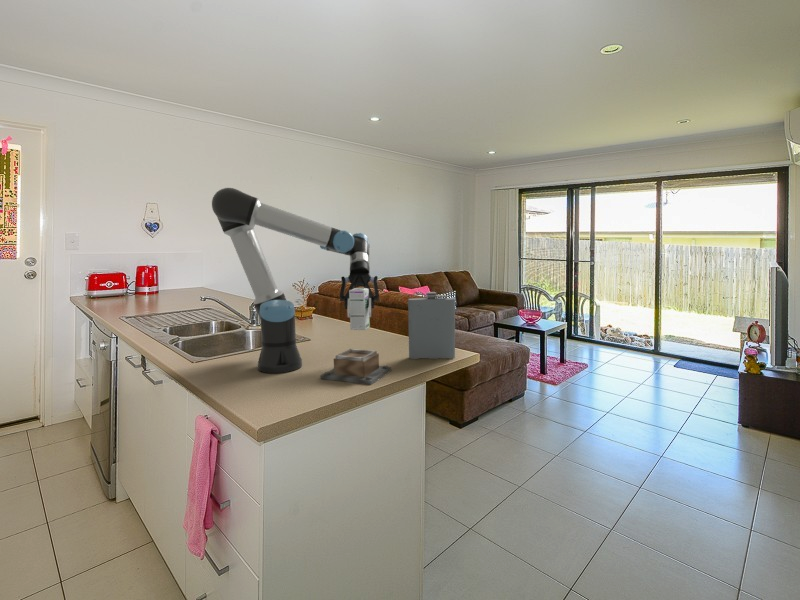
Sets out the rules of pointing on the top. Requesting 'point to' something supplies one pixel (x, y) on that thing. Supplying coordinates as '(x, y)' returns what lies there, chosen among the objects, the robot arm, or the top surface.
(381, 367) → the assembly base
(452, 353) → the tall gray carton
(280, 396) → the top surface
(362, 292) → the syrup box
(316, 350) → the top surface
